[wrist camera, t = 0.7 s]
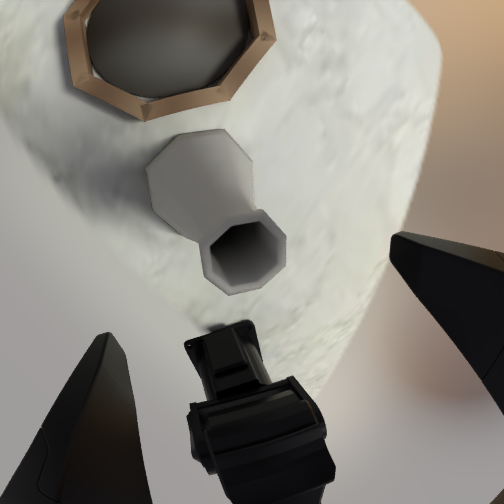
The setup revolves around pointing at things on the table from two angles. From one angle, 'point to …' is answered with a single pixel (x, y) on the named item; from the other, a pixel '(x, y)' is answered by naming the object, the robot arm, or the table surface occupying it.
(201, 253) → the flask
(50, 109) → the table surface
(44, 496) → the robot arm
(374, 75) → the table surface
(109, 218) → the table surface
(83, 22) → the brown octagonal tray
